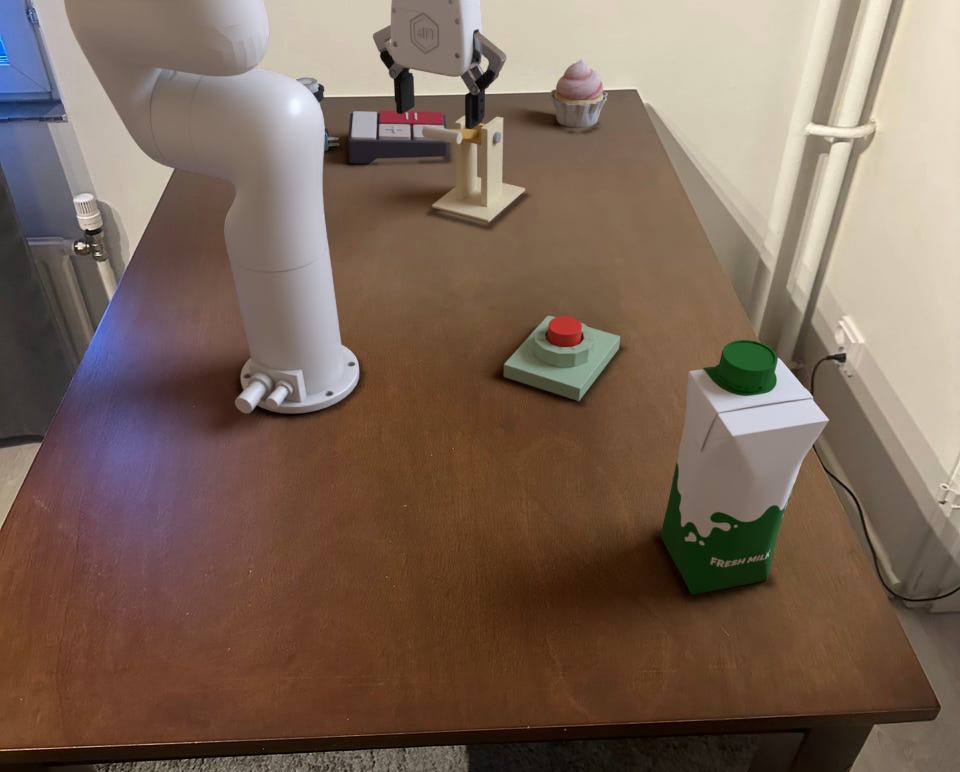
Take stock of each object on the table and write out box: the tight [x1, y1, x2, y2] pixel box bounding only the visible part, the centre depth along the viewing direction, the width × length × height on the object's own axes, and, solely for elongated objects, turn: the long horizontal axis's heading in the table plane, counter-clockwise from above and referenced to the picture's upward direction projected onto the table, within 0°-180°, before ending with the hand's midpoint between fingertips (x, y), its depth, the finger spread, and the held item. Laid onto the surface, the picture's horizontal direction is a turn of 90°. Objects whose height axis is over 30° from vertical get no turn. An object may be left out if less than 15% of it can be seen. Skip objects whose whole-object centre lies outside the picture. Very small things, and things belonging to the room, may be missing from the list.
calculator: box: [347, 110, 449, 165], centre depth 138 cm, size 11×4×15 cm
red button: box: [548, 315, 582, 347], centre depth 96 cm, size 4×4×2 cm
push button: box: [295, 76, 340, 152], centre depth 136 cm, size 7×5×10 cm
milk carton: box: [660, 339, 830, 596], centre depth 71 cm, size 9×9×20 cm
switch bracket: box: [431, 114, 526, 223], centre depth 122 cm, size 11×9×12 cm
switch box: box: [503, 315, 621, 402], centre depth 97 cm, size 11×9×4 cm
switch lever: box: [422, 122, 487, 146], centre depth 115 cm, size 12×5×2 cm, turn 151°
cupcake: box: [549, 59, 608, 129], centre depth 142 cm, size 9×9×10 cm
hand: (439, 117), depth 109 cm, fingers open, 9 cm apart
